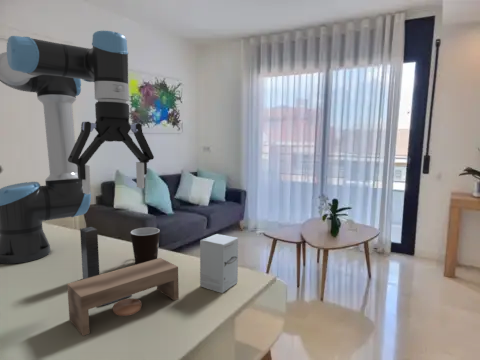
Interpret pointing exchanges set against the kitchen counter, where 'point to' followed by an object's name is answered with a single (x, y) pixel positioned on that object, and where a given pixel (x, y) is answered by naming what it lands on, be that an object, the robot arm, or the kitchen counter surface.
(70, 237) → the kitchen counter surface
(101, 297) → the bench
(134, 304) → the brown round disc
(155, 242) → the coffee mug
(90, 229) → the dark gray angled bracket
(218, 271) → the supplement box
